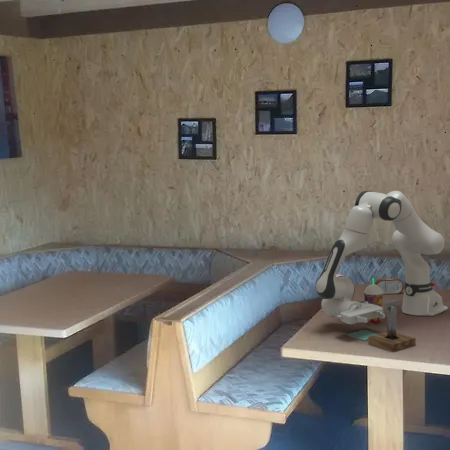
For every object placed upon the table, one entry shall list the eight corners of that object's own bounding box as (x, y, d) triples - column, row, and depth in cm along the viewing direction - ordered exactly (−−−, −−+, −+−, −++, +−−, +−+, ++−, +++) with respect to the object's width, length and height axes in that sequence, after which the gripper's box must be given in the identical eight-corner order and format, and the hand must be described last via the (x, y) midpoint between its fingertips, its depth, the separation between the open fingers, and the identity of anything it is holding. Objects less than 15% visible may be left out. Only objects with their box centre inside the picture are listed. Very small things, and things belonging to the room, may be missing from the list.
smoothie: (360, 322, 298) (360, 278, 295) (370, 318, 304) (369, 275, 301) (377, 325, 292) (376, 281, 289) (386, 321, 298) (386, 277, 295)
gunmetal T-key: (394, 341, 269) (394, 299, 267) (401, 343, 266) (401, 300, 264) (382, 345, 265) (382, 302, 263) (389, 347, 262) (388, 303, 260)
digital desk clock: (402, 292, 348) (402, 276, 347) (404, 294, 345) (404, 278, 344) (374, 294, 347) (374, 278, 346) (375, 295, 344) (375, 279, 343)
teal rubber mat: (364, 330, 285) (364, 329, 285) (381, 336, 277) (381, 335, 277) (347, 335, 279) (347, 334, 279) (364, 341, 271) (364, 340, 271)
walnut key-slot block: (390, 337, 275) (390, 330, 274) (415, 345, 264) (415, 337, 263) (368, 344, 267) (368, 336, 267) (393, 352, 257) (393, 344, 256)
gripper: (333, 308, 277) (357, 315, 265) (368, 300, 288) (392, 306, 276) (333, 323, 278) (357, 330, 266) (368, 314, 289) (392, 321, 277)
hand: (375, 318), depth 271 cm, fingers open, 8 cm apart
